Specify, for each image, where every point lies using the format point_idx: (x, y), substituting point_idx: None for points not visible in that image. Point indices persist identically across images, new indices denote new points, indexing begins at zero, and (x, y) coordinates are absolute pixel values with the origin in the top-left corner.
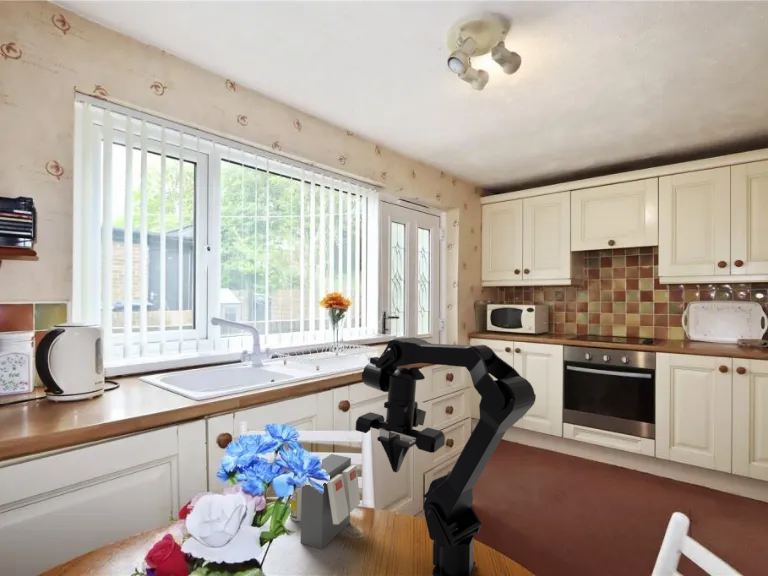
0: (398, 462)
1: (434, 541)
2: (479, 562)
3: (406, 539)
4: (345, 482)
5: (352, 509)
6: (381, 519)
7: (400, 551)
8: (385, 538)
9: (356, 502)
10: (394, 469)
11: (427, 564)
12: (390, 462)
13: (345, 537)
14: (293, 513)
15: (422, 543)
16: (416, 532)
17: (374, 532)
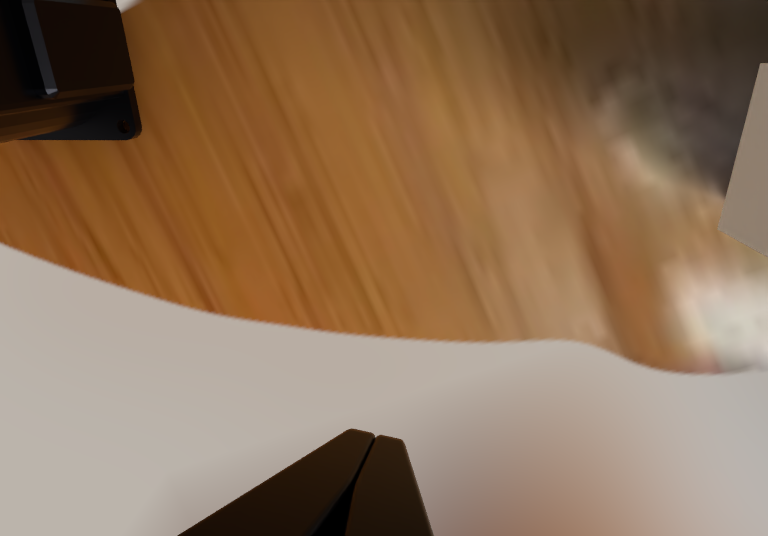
0: (194, 525)
1: (22, 7)
2: (3, 166)
3: (355, 189)
4: None
5: (757, 95)
6: (554, 306)
7: (337, 70)
8: (462, 147)
9: (753, 180)
10: (365, 451)
11: (170, 31)
12: (408, 530)
13: (708, 39)
14: None
15: (271, 192)
16: (337, 267)
17: (544, 174)
